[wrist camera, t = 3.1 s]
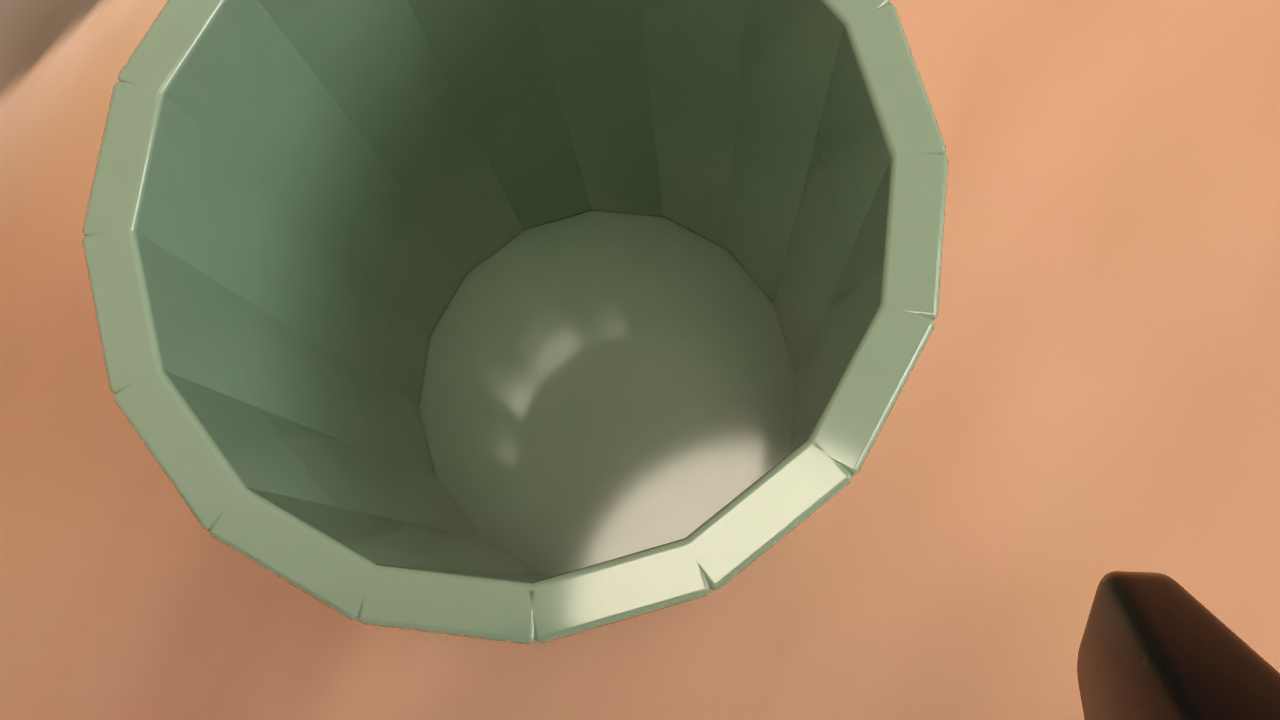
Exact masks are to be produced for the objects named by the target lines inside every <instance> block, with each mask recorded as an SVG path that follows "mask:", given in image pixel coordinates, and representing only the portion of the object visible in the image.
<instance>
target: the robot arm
mask: <svg viewBox="0 0 1280 720" xmlns="http://www.w3.org/2000/svg"><path fill="white" fill-rule="evenodd" d="M1077 672H1078V683H1079V689H1080V695H1081V701H1082V706H1083V712H1084V718H1085V720H1280V673H1279V672H1278V671H1277V670H1275V669H1274V668H1273V667H1272V666H1271V665H1270V664H1269V663H1267V662H1266V661H1265V660H1264V659H1263V658H1262V657H1261V656H1260V655H1258V654H1257V653H1256V652H1255V651H1254V650H1253V649H1252V648H1251V647H1249V646H1248V645H1247V644H1246V643H1245V642H1244V641H1243V640H1242V639H1240V638H1239V637H1238V636H1237V635H1236V634H1235V633H1234V632H1232V631H1231V630H1230V629H1229V628H1228V627H1227V626H1226V625H1225V624H1223V623H1222V622H1221V621H1220V620H1219V619H1218V618H1217V617H1216V616H1214V615H1213V614H1212V613H1211V612H1210V611H1209V610H1208V609H1207V608H1205V607H1204V606H1203V605H1202V604H1201V603H1200V602H1199V601H1197V600H1196V599H1195V598H1194V597H1193V596H1192V595H1191V594H1190V593H1188V592H1187V591H1186V590H1185V589H1184V588H1183V587H1182V586H1181V585H1179V584H1178V583H1177V582H1176V581H1175V580H1173V579H1172V578H1170V577H1168V576H1166V575H1164V574H1160V573H1147V572H1121V571H1114V572H1111V573H1108V574H1106V575H1105V576H1104V577H1103V578H1102V580H1101V581H1100V583H1099V585H1098V588H1097V591H1096V594H1095V598H1094V601H1093V604H1092V608H1091V611H1090V614H1089V618H1088V621H1087V624H1086V628H1085V631H1084V634H1083V638H1082V641H1081V644H1080V648H1079V652H1078V663H1077Z"/></svg>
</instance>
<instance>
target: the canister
mask: <svg viewBox="0 0 1280 720" xmlns="http://www.w3.org/2000/svg"><path fill="white" fill-rule="evenodd" d="M118 80H119V81H118V82H116V83H115V84H114V87H113V91H112V96H111V101H110V105H109V110H108V114H107V119H106V124H105V128H104V133H103V137H102V142H101V146H100V151H99V156H98V160H97V165H96V169H95V174H94V179H93V183H92V188H91V192H90V197H89V202H88V206H87V211H86V215H85V220H84V225H83V229H82V230H83V234H84V236H85V237H84V238H83V240H82V243H83V248H84V253H85V258H86V264H87V269H88V274H89V280H90V285H91V290H92V296H93V301H94V306H95V312H96V317H97V322H98V327H99V333H100V338H101V343H102V349H103V354H104V359H105V365H106V370H107V375H108V381H109V386H110V390H111V391H112V393H113V394H115V395H114V399H115V402H116V403H117V405H118V406H119V408H120V409H121V411H122V412H123V413H124V415H125V416H126V418H127V419H128V421H129V422H130V424H131V425H132V426H133V428H134V429H135V431H136V432H137V434H138V435H139V437H140V438H141V439H142V441H143V442H144V444H145V445H146V447H147V448H148V450H149V451H150V452H151V454H152V455H153V457H154V458H155V460H156V461H157V463H158V464H159V465H160V467H161V468H162V470H163V471H164V473H165V474H166V476H167V477H168V478H169V480H170V481H171V483H172V484H173V486H174V487H175V488H176V490H177V491H178V493H179V494H180V496H181V497H182V499H183V500H184V501H185V503H186V504H187V506H188V507H189V509H190V510H191V512H192V513H193V514H194V516H195V517H196V519H197V520H198V522H199V523H200V525H201V526H202V527H203V528H204V529H205V530H207V531H210V532H209V533H210V534H211V535H212V537H213V538H215V539H217V540H218V541H220V542H222V543H223V544H225V545H227V546H228V547H230V548H232V549H233V550H235V551H237V552H238V553H240V554H242V555H243V556H245V557H247V558H248V559H250V560H252V561H253V562H255V563H257V564H258V565H260V566H262V567H263V568H265V569H267V570H268V571H270V572H272V573H273V574H275V575H277V576H278V577H280V578H282V579H283V580H285V581H287V582H288V583H290V584H292V585H293V586H295V587H297V588H298V589H300V590H302V591H303V592H305V593H307V594H308V595H310V596H312V597H313V598H315V599H317V600H318V601H320V602H322V603H323V604H325V605H327V606H328V607H330V608H332V609H333V610H335V611H337V612H338V613H340V614H342V615H343V616H345V617H347V618H348V619H351V620H358V621H359V622H361V623H363V624H367V625H375V626H383V627H391V628H399V629H407V630H415V631H424V632H432V633H440V634H448V635H456V636H464V637H472V638H480V639H488V640H496V641H504V642H512V643H521V644H532V643H535V642H538V643H546V642H549V641H552V640H556V639H559V638H563V637H566V636H570V635H573V634H577V633H580V632H583V631H587V630H590V629H594V628H597V627H601V626H604V625H608V624H611V623H614V622H618V621H621V620H625V619H628V618H632V617H635V616H639V615H642V614H645V613H649V612H652V611H656V610H659V609H663V608H666V607H670V606H673V605H676V604H680V603H683V602H687V601H690V600H694V599H697V598H701V597H704V596H707V595H708V594H709V593H710V592H711V589H712V590H718V589H720V588H721V587H723V586H724V585H725V584H726V583H728V582H729V581H730V580H731V579H732V578H734V577H735V576H736V575H737V574H739V573H740V572H741V571H742V570H743V569H745V568H746V567H747V566H748V565H750V564H751V563H752V562H753V561H755V560H756V559H757V558H758V557H759V556H761V555H762V554H763V553H764V552H766V551H767V550H768V549H769V548H770V547H772V546H773V545H774V544H775V543H777V542H778V541H779V540H780V539H782V538H783V537H784V536H785V535H786V534H788V533H789V532H790V531H791V530H793V529H794V528H795V527H796V526H797V525H799V524H800V523H801V522H802V521H804V520H805V519H806V518H807V517H809V516H810V515H811V514H812V513H813V512H815V511H816V510H817V509H818V508H820V507H821V506H822V505H823V504H824V503H826V502H827V501H828V500H829V499H831V498H832V497H833V496H834V495H836V494H837V493H838V492H839V491H840V490H842V489H843V488H844V487H845V486H847V485H848V484H849V483H850V481H851V480H852V477H853V476H854V475H855V474H857V473H858V472H859V470H860V469H861V467H862V465H863V463H864V461H865V459H866V457H867V455H868V453H869V451H870V449H871V448H872V446H873V444H874V442H875V440H876V438H877V436H878V434H879V432H880V430H881V428H882V426H883V425H884V423H885V421H886V419H887V417H888V415H889V413H890V411H891V409H892V407H893V405H894V404H895V402H896V400H897V398H898V396H899V394H900V392H901V390H902V388H903V386H904V384H905V382H906V381H907V379H908V377H909V375H910V373H911V371H912V369H913V367H914V365H915V363H916V361H917V360H918V358H919V356H920V354H921V352H922V350H923V348H924V346H925V344H926V342H927V340H928V338H929V337H930V335H931V333H932V331H933V329H934V321H935V319H936V317H937V316H938V304H939V290H940V275H941V260H942V246H943V231H944V216H945V201H946V187H947V172H948V158H947V155H945V153H946V146H945V143H944V140H943V137H942V135H941V132H940V129H939V126H938V124H937V121H936V118H935V115H934V113H933V110H932V107H931V104H930V102H929V99H928V96H927V93H926V91H925V88H924V85H923V82H922V80H921V77H920V74H919V71H918V69H917V66H916V63H915V60H914V58H913V55H912V52H911V49H910V47H909V44H908V41H907V38H906V36H905V33H904V30H903V27H902V24H901V22H900V19H899V16H898V13H897V11H896V8H895V6H894V5H893V4H890V0H168V1H167V3H166V4H165V6H164V7H163V9H162V10H161V12H160V13H159V15H158V16H157V18H156V19H155V21H154V22H153V24H152V25H151V27H150V28H149V30H148V31H147V33H146V34H145V36H144V37H143V39H142V40H141V42H140V43H139V45H138V46H137V48H136V49H135V51H134V52H133V54H132V55H131V56H130V58H129V59H128V61H127V62H126V64H125V65H124V67H123V68H122V70H121V71H120V73H119V75H118Z"/></svg>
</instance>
